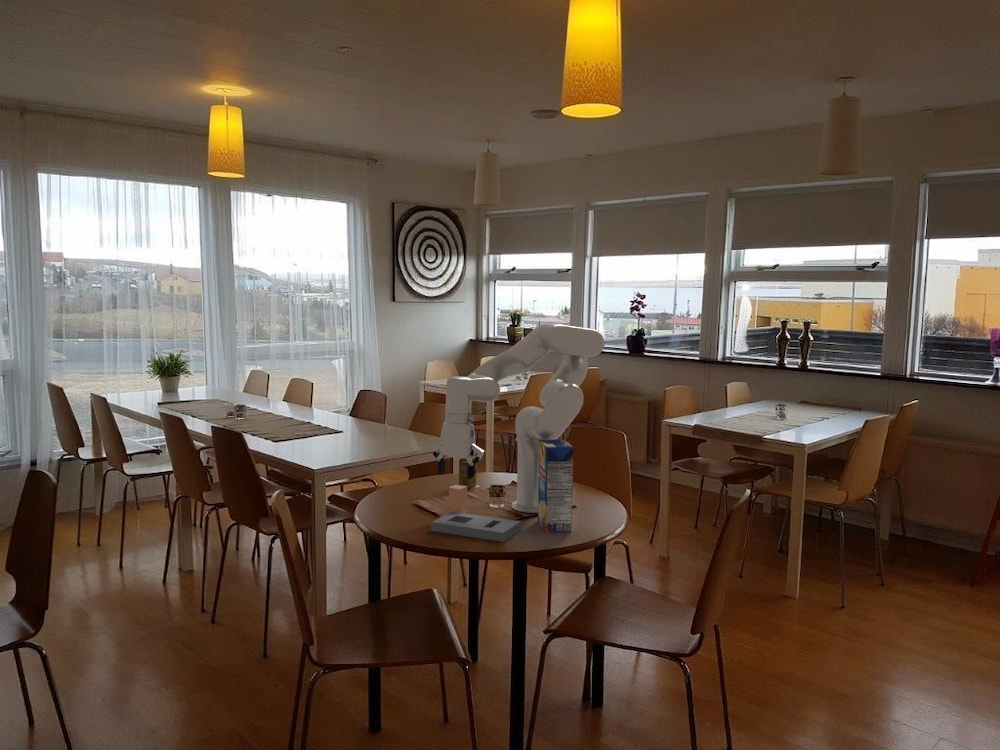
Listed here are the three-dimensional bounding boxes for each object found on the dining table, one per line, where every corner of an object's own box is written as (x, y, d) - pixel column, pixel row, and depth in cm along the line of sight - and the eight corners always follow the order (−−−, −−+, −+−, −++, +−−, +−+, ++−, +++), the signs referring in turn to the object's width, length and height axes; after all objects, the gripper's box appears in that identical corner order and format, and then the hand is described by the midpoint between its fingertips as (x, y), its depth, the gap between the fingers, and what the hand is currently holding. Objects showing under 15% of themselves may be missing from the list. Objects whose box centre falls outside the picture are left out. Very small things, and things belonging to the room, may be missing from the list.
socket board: (451, 519, 223) (451, 511, 223) (520, 530, 214) (520, 521, 214) (431, 530, 212) (431, 522, 212) (503, 541, 203) (503, 532, 203)
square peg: (455, 514, 229) (455, 484, 228) (467, 515, 228) (467, 486, 227) (448, 517, 226) (449, 487, 225) (460, 519, 224) (461, 489, 223)
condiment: (481, 486, 264) (481, 452, 263) (463, 490, 258) (463, 455, 257) (467, 483, 269) (467, 449, 268) (449, 487, 263) (449, 452, 262)
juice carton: (537, 520, 224) (539, 439, 221) (562, 519, 225) (564, 439, 222) (545, 532, 212) (547, 447, 210) (571, 532, 213) (573, 447, 211)
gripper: (490, 420, 224) (487, 477, 225) (438, 414, 231) (436, 470, 232) (478, 422, 217) (476, 482, 218) (426, 417, 224) (424, 474, 225)
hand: (455, 476), depth 225 cm, fingers open, 9 cm apart
